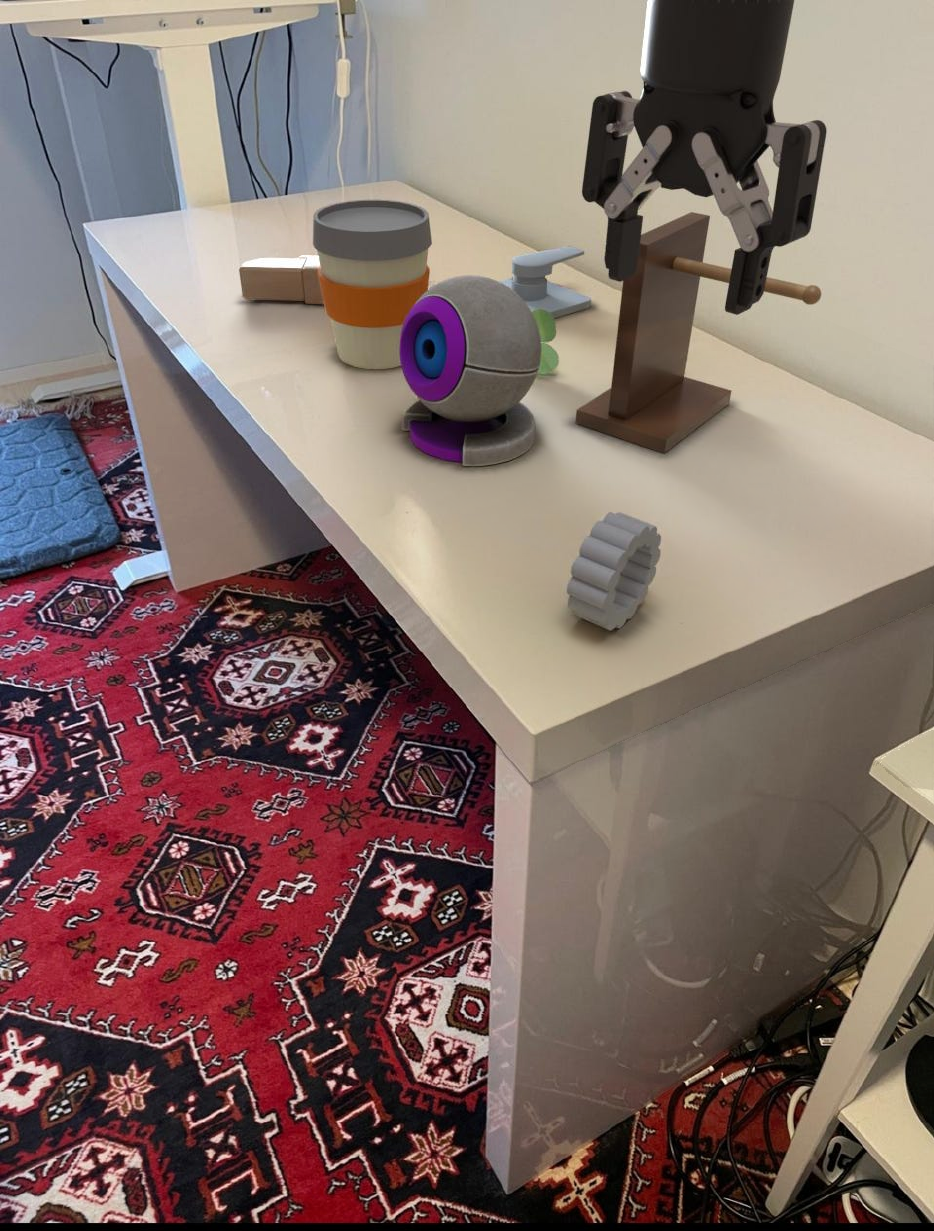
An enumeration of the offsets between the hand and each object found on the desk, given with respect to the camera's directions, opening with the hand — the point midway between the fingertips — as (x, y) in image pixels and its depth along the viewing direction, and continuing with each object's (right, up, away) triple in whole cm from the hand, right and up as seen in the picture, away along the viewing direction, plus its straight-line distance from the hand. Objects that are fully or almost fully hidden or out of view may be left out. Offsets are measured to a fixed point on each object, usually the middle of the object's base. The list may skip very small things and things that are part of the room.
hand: (677, 293), depth 59 cm
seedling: (-5, +8, +47) cm, 48 cm away
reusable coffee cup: (-23, +10, +49) cm, 55 cm away
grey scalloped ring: (-3, -20, +11) cm, 23 cm away
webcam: (-13, -2, +34) cm, 36 cm away
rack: (+9, -1, +35) cm, 37 cm away
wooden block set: (-32, +24, +67) cm, 78 cm away
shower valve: (-5, +20, +63) cm, 66 cm away
